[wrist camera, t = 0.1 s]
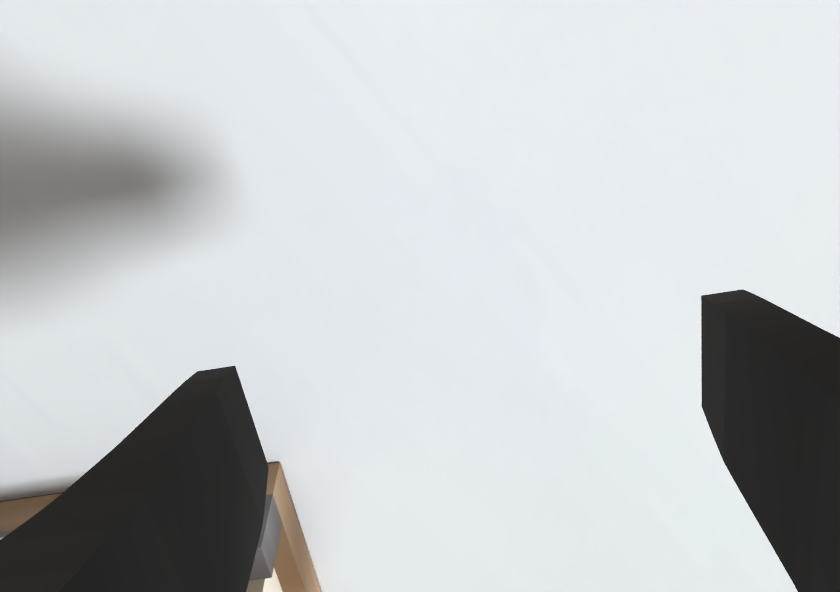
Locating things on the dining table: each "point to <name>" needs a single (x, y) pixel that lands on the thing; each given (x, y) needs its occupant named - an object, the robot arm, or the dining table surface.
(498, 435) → the dining table surface
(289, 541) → the shelf board
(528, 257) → the dining table surface
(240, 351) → the dining table surface
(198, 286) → the dining table surface
